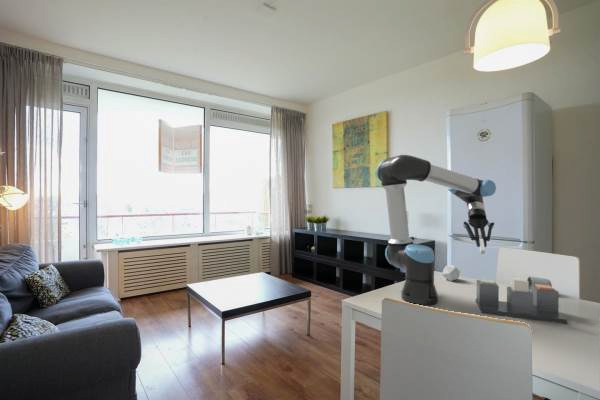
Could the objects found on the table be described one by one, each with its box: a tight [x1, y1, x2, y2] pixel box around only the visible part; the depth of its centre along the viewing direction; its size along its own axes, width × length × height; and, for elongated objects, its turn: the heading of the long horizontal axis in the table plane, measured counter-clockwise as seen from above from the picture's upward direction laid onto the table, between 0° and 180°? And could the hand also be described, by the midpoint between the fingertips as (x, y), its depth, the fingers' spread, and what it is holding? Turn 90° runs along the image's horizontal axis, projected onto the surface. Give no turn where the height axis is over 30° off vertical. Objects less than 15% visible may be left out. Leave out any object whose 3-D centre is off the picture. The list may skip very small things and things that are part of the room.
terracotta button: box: [535, 284, 555, 291], centre depth 114 cm, size 4×4×8 cm
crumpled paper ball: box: [442, 264, 461, 282], centre depth 160 cm, size 8×9×10 cm
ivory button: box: [510, 276, 529, 292], centre depth 112 cm, size 4×4×8 cm
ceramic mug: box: [526, 276, 553, 290], centre depth 140 cm, size 10×8×7 cm
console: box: [475, 279, 568, 325], centre depth 115 cm, size 26×13×10 cm, turn 68°
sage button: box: [479, 278, 496, 285], centre depth 121 cm, size 4×4×8 cm
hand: (482, 252), depth 130 cm, fingers closed
